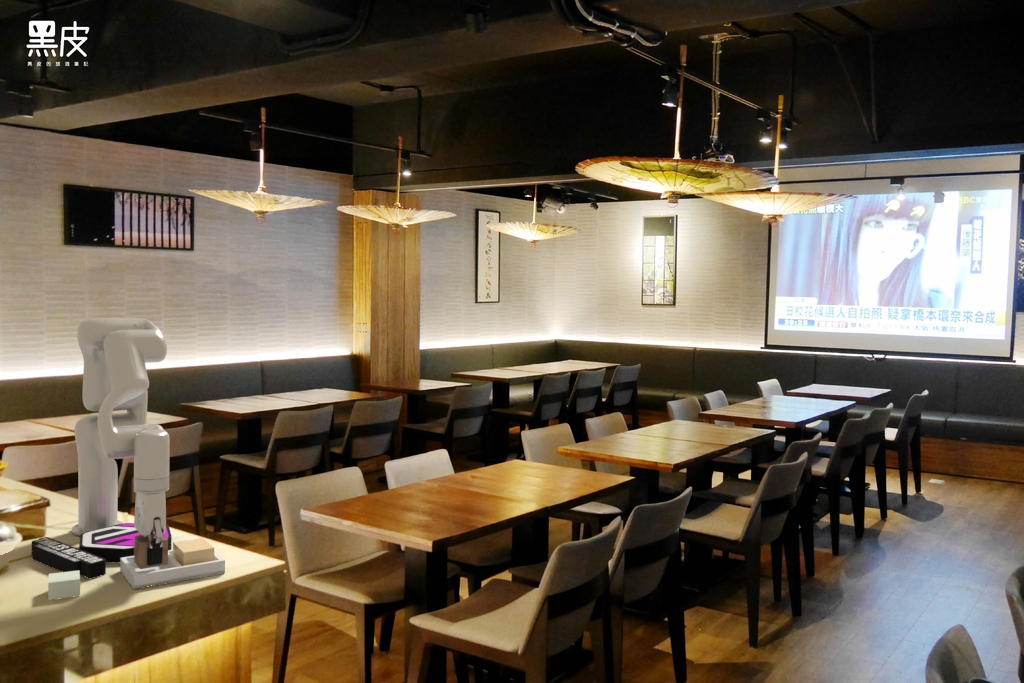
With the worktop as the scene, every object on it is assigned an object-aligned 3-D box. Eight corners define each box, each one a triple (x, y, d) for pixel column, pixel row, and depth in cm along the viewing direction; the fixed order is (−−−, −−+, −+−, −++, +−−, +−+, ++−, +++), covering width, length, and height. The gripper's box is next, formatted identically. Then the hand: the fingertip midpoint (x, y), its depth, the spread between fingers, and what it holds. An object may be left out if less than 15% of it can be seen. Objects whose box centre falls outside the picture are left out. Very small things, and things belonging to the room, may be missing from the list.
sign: (83, 582, 189) (198, 550, 214) (83, 566, 188) (198, 535, 213) (23, 557, 204) (136, 530, 229) (23, 542, 203) (136, 516, 228)
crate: (120, 571, 195) (120, 547, 195) (206, 556, 207) (206, 534, 207) (134, 589, 184) (134, 564, 184) (224, 573, 196) (225, 549, 196)
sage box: (48, 591, 182) (48, 573, 182) (79, 587, 185) (79, 570, 185) (48, 601, 177) (48, 582, 176) (80, 597, 180) (80, 579, 179)
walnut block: (134, 561, 194) (134, 536, 193) (161, 557, 197) (161, 532, 197) (140, 569, 189) (140, 543, 188) (167, 564, 192) (168, 539, 192)
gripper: (125, 477, 196) (125, 552, 197) (143, 494, 182) (142, 574, 184) (159, 474, 201) (158, 547, 202) (179, 490, 187) (178, 568, 188)
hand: (150, 559), depth 193 cm, fingers closed on walnut block, 6 cm apart
